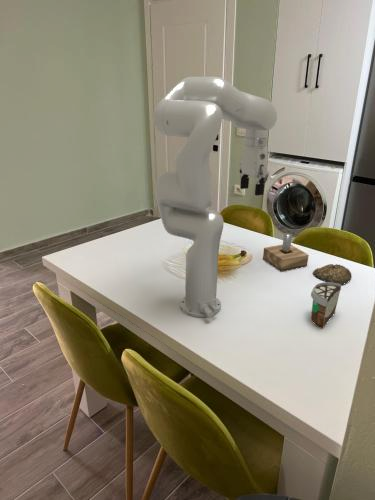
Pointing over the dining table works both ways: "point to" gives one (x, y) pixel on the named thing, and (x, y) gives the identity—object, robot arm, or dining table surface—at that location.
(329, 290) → the food container
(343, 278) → the bread roll
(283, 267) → the bore block
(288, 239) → the pin
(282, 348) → the dining table surface
